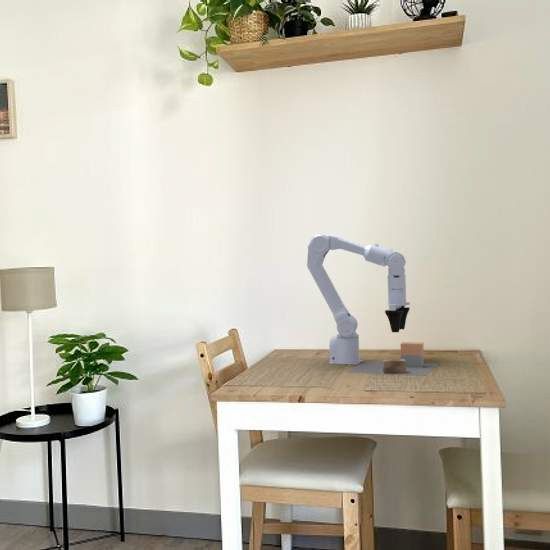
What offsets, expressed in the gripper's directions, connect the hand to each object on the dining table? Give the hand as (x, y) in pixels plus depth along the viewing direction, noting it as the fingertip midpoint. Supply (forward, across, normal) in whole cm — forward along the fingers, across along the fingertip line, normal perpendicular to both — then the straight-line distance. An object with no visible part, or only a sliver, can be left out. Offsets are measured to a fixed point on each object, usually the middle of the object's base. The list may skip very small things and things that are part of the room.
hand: (398, 330), depth 204 cm
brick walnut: (+10, -19, -3) cm, 22 cm away
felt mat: (+10, -12, -1) cm, 16 cm away
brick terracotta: (+6, -8, -6) cm, 12 cm away
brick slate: (+10, -8, -6) cm, 14 cm away
